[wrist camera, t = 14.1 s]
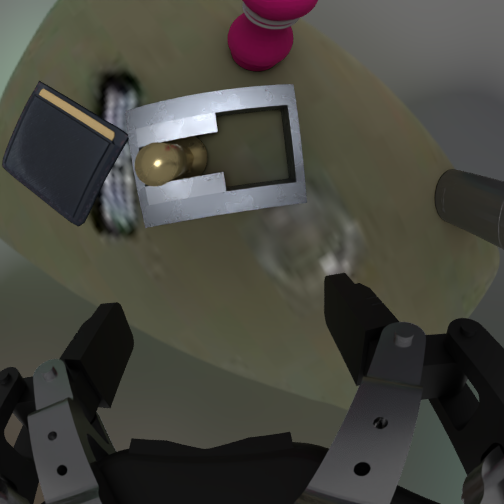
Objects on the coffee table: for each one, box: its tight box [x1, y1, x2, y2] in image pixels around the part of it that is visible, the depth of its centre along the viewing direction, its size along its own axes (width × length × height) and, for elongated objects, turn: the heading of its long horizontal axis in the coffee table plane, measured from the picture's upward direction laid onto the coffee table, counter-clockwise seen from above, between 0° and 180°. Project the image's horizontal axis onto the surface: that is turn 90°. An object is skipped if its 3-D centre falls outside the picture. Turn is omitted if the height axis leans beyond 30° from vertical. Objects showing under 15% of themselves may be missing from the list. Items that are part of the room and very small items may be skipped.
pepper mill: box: [228, 0, 318, 71], centre depth 19 cm, size 7×7×20 cm
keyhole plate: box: [125, 84, 307, 228], centre depth 31 cm, size 19×14×4 cm
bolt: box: [135, 136, 208, 186], centre depth 26 cm, size 6×6×14 cm
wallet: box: [2, 81, 129, 226], centre depth 29 cm, size 20×2×15 cm
